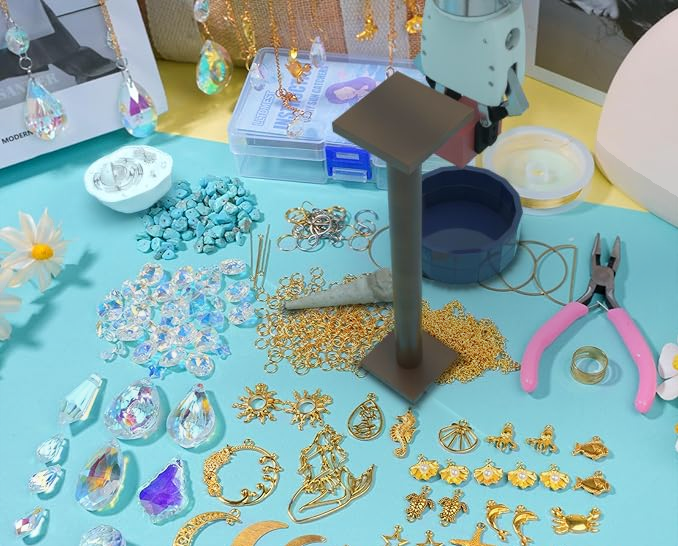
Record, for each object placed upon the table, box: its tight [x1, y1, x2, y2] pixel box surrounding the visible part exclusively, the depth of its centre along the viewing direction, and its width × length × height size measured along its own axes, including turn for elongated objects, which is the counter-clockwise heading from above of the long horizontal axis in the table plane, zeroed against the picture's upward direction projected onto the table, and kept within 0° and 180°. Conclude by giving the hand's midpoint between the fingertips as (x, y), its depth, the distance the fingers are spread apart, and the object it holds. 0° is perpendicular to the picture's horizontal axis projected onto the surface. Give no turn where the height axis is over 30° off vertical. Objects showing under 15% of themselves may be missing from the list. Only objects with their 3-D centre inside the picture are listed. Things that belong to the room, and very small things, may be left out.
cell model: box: [83, 145, 173, 214], centre depth 111 cm, size 10×12×7 cm
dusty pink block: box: [433, 95, 503, 169], centre depth 89 cm, size 7×4×4 cm, turn 137°
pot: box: [422, 164, 524, 285], centre depth 102 cm, size 15×15×6 cm
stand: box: [331, 70, 474, 406], centre depth 80 cm, size 8×8×36 cm
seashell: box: [285, 267, 393, 310], centre depth 99 cm, size 4×16×4 cm, turn 98°
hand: (467, 135), depth 90 cm, fingers closed on dusty pink block, 4 cm apart
